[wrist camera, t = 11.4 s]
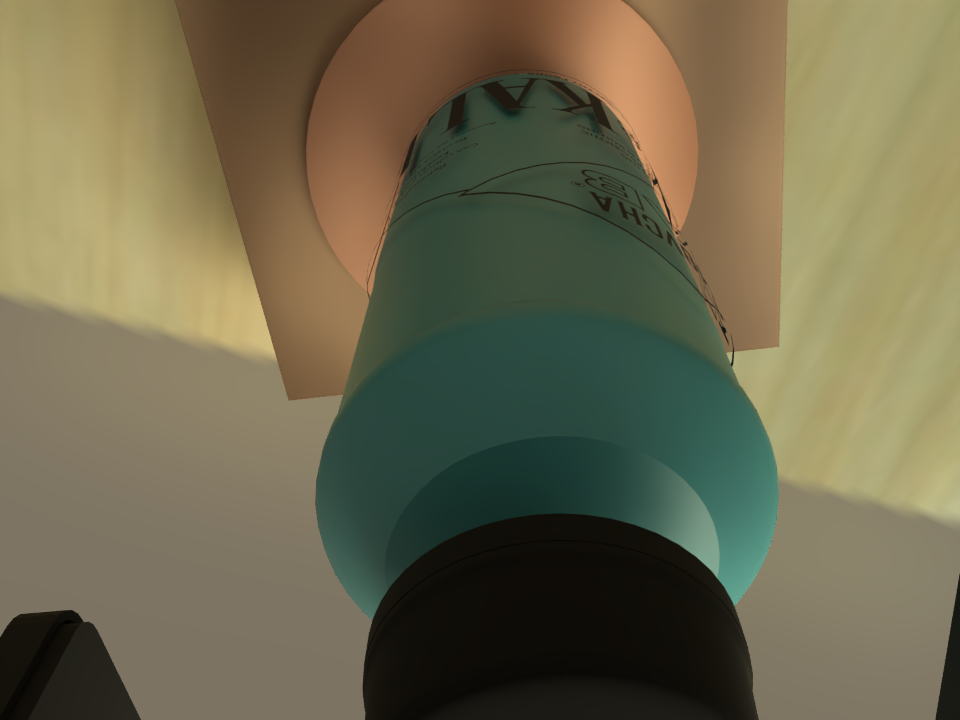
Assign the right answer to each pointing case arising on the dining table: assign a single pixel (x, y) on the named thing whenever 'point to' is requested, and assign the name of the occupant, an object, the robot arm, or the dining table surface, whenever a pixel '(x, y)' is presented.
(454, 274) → the beverage bottle
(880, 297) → the dining table surface
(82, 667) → the robot arm
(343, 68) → the wooden u-channel bracket
